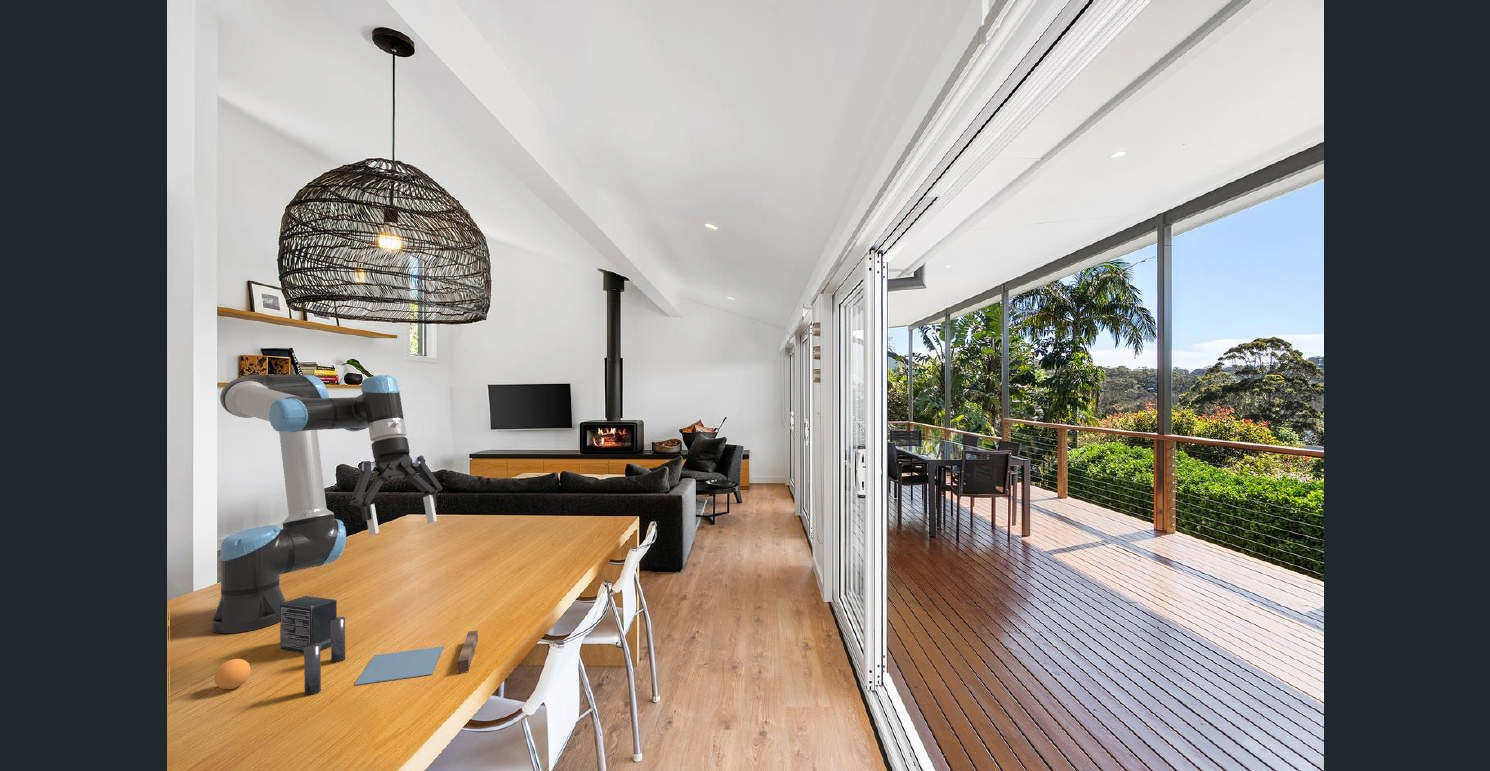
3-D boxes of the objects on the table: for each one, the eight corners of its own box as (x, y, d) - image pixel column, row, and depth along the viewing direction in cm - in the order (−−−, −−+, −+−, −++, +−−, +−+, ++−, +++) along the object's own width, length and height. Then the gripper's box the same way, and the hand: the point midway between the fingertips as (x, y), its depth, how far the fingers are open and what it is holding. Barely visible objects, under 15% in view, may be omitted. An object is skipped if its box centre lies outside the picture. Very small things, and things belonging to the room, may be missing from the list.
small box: (339, 643, 141) (338, 598, 141) (311, 655, 135) (310, 608, 135) (307, 637, 145) (306, 594, 145) (278, 649, 139) (278, 603, 139)
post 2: (333, 658, 133) (333, 617, 133) (347, 656, 134) (346, 616, 134) (329, 663, 131) (328, 621, 131) (343, 661, 132) (342, 620, 132)
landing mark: (374, 655, 134) (374, 655, 134) (444, 647, 138) (444, 646, 138) (354, 685, 121) (354, 684, 121) (432, 674, 125) (432, 673, 125)
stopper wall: (468, 642, 141) (468, 631, 141) (477, 641, 141) (477, 630, 141) (457, 673, 126) (457, 661, 126) (468, 671, 126) (468, 659, 126)
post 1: (307, 689, 119) (307, 644, 119) (322, 687, 120) (322, 642, 120) (302, 696, 117) (301, 649, 117) (318, 694, 118) (317, 647, 118)
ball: (223, 683, 122) (223, 656, 122) (256, 679, 124) (255, 652, 124) (208, 696, 117) (208, 668, 117) (242, 691, 119) (242, 663, 119)
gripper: (340, 439, 132) (355, 536, 128) (447, 432, 153) (462, 515, 150) (323, 448, 135) (338, 542, 132) (430, 439, 157) (445, 520, 153)
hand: (404, 528), depth 141 cm, fingers open, 13 cm apart
